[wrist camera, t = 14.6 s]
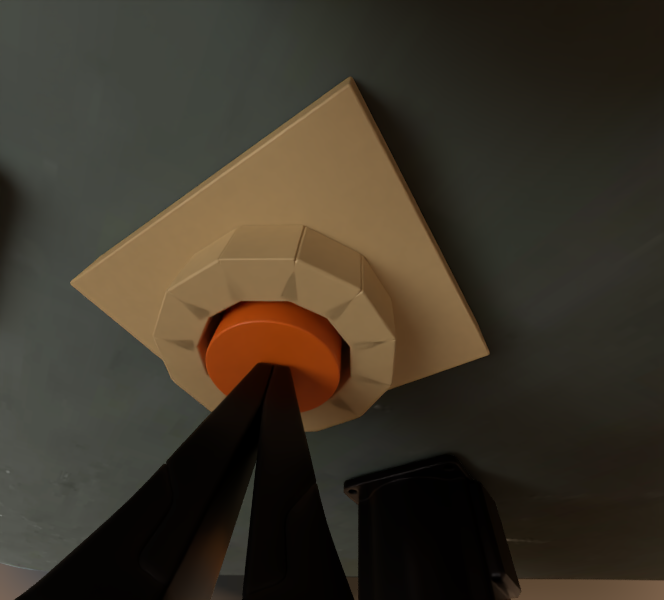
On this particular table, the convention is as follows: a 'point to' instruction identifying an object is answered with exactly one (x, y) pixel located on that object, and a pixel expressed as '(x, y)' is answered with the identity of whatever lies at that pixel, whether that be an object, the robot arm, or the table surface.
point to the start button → (277, 348)
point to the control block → (297, 261)
